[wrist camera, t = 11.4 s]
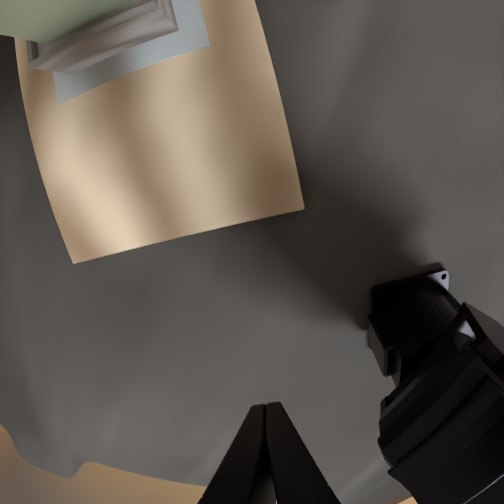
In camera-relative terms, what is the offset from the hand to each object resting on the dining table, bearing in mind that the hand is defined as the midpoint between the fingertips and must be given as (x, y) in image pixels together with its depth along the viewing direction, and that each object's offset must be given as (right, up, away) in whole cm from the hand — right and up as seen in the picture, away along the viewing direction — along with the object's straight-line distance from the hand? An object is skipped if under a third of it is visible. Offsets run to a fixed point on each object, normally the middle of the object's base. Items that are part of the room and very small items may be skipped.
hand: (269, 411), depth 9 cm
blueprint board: (-8, +15, +8) cm, 18 cm away
